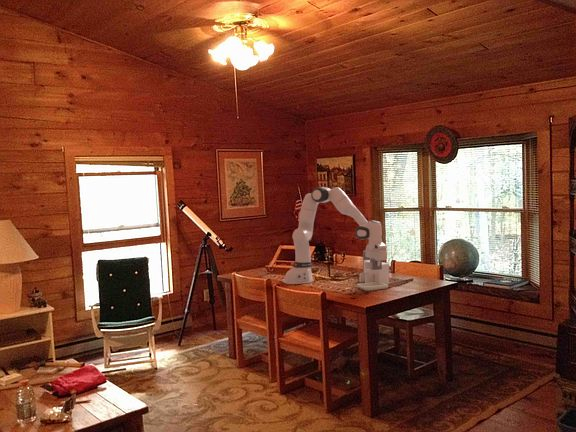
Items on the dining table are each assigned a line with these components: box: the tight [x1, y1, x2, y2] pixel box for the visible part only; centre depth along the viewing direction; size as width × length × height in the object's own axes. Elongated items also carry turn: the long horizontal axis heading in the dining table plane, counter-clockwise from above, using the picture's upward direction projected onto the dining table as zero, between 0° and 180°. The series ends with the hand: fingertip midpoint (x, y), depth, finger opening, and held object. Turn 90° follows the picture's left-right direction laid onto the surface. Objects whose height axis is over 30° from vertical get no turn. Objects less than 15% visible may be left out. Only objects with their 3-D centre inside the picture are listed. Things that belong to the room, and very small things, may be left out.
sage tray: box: [356, 282, 389, 292], centre depth 365 cm, size 17×12×2 cm
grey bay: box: [358, 260, 390, 285], centre depth 384 cm, size 15×20×14 cm
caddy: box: [365, 259, 383, 270], centre depth 364 cm, size 11×5×6 cm, turn 114°
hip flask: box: [362, 250, 376, 273], centre depth 412 cm, size 16×4×20 cm, turn 43°
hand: (375, 265), depth 365 cm, fingers closed on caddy, 5 cm apart
